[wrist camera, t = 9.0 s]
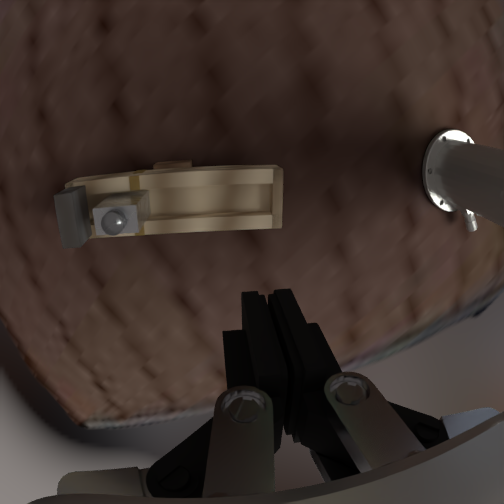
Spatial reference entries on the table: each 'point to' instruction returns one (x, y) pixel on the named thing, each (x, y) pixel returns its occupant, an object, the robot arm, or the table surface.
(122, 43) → the table surface
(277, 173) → the beam
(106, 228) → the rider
